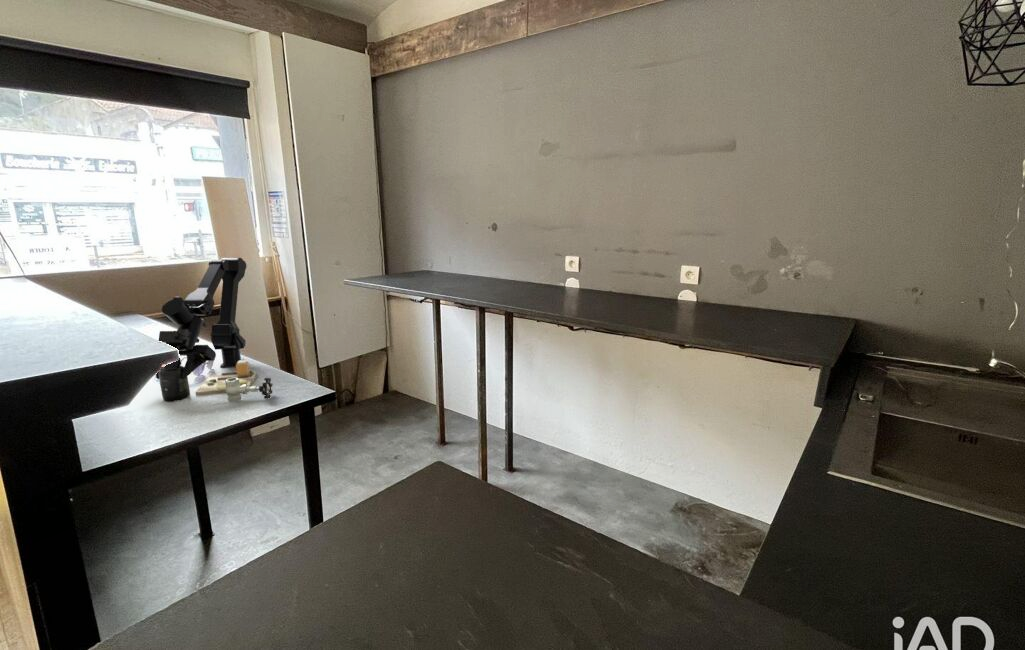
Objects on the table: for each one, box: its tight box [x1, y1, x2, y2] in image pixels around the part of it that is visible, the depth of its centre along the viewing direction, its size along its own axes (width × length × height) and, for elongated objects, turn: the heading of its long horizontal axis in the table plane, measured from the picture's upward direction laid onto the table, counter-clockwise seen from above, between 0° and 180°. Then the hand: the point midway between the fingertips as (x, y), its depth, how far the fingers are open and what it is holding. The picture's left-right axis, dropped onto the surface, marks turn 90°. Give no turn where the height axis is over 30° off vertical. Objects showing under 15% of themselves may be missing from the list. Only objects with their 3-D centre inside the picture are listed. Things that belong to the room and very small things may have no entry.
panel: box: [194, 370, 258, 397], centre depth 155 cm, size 16×14×2 cm
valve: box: [225, 377, 274, 403], centre depth 143 cm, size 7×7×12 cm
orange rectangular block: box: [235, 359, 251, 376], centre depth 160 cm, size 3×3×5 cm
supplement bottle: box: [158, 357, 191, 403], centre depth 143 cm, size 7×7×12 cm
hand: (170, 378), depth 142 cm, fingers closed on supplement bottle, 7 cm apart
